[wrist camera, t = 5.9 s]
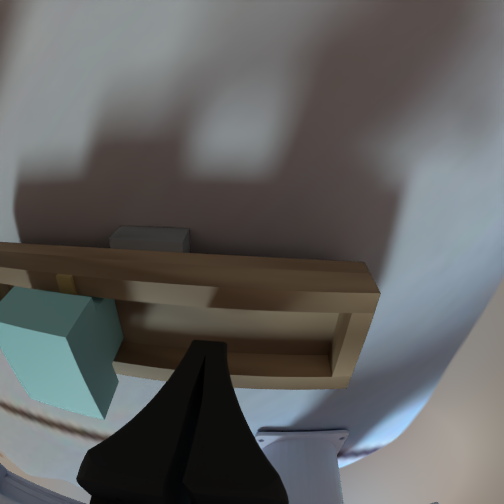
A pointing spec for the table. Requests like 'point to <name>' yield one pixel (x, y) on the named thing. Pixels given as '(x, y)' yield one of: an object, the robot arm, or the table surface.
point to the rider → (62, 347)
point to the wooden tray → (212, 305)
